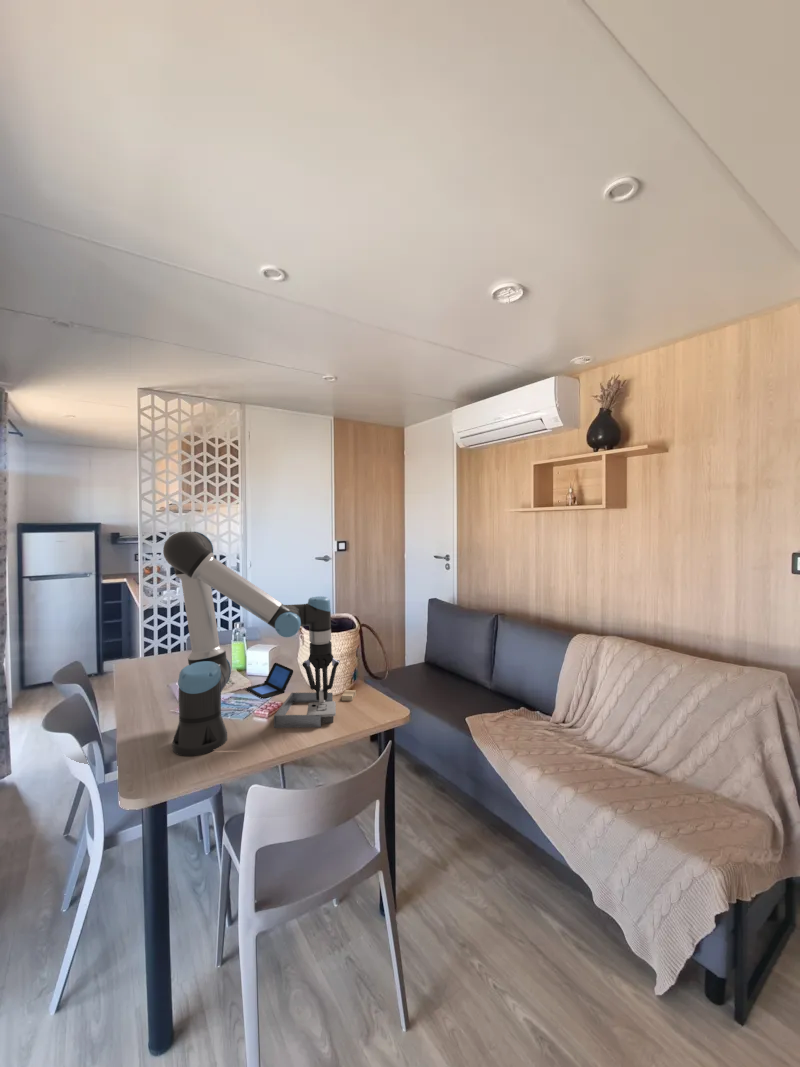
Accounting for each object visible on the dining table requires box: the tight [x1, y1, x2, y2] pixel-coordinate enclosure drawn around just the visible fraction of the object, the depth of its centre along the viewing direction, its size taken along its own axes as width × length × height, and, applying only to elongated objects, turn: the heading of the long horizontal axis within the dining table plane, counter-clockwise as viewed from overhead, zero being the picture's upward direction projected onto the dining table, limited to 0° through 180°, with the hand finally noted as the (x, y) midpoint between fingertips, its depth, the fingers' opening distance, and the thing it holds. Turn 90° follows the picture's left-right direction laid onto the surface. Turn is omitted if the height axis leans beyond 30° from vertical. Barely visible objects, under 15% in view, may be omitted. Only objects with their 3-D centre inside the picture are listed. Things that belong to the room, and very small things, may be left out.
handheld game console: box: [245, 662, 294, 700], centre depth 181 cm, size 16×13×9 cm
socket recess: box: [273, 692, 334, 729], centre depth 157 cm, size 22×15×4 cm
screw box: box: [341, 689, 357, 702], centre depth 170 cm, size 6×4×3 cm, turn 173°
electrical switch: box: [306, 700, 337, 725], centre depth 152 cm, size 9×5×9 cm
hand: (322, 708), depth 158 cm, fingers closed
